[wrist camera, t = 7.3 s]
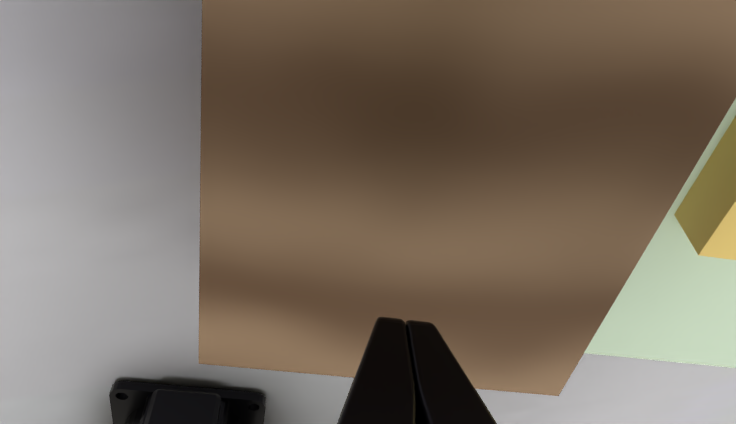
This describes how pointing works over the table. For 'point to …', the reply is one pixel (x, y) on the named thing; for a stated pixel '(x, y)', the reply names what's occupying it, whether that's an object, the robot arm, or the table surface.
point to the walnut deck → (443, 172)
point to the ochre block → (713, 202)
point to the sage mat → (675, 296)
